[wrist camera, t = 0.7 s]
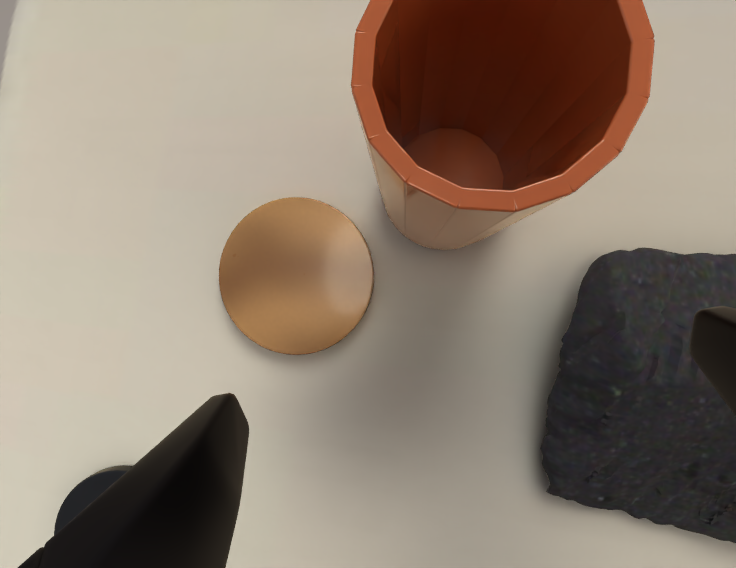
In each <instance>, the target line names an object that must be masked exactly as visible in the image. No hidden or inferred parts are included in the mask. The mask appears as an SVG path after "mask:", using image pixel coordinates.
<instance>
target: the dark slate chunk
mask: <svg viewBox="0 0 736 568" xmlns="http://www.w3.org/2000/svg"><path fill="white" fill-rule="evenodd" d="M718 306H726V307H730V308H734V309H736V254H729V255H713V254H709V253H695V254H688V255H683V254H677V253H672V252H667V251H663V250H658V249H652V248H638V249H635V250H633V251H623V250H618V251H614V252H611V253H608V254H605V255H602V256H600V257H599V258H598V259H597V260H595V261H594V262H593V263H592V264H591V266H590V267H589V269H588V271H587V273H586V275H585V276H584V278H583V280H582V282H581V286H580V289H579V293H578V299H577V303H576V307H575V309H574V312H573V316H572V319H571V323H570V325H569V327H568V330H567V331H566V333H565V335H564V336H563V338H562V342H563V345H562V348H561V350H560V363H559V366H558V367H559V368H560V369H561V370H560V371H559V373H558V375H557V378H556V380H555V383H554V385H553V388H552V390H551V393H550V395H549V398H548V409H547V418H546V427H547V430H548V433H547V435H546V436H545V437H544V439H543V442H542V445H541V451H542V455H543V460H542V465H543V468H544V470H545V472H546V474H547V476H548V478H549V482H550V486H549V488H548V489H547V491H546V492H548V493H550V494H552V495H555V496H559V497H562V498H564V499H566V500H574V501H576V502H578V503H580V504H582V505H585V506H589V507H594V508H600V509H607V510H623V511H625V512H627V513H628V514H629V515H631V516H633V517H635V518H638V519H642V518H646V519H649V520H650V521H652V522H653V523H655V524H661V525H673V526H675V527H677V528H680V529H684V530H688V531H692V532H696V533H700V534H704V535H707V536H710V537H713V538H716V539H719V540H723V541H731V542H734V543H736V416H735V415H734V414H733V412H732V411H731V410H730V408H729V407H728V406H727V404H726V403H725V402H724V400H723V399H722V397H721V396H720V395H719V393H718V392H717V391H716V389H715V388H714V387H713V385H712V384H711V383H710V381H709V380H708V379H707V377H706V376H705V375H704V373H703V372H702V370H701V369H700V368H699V366H698V365H697V364H696V362H695V361H694V359H693V358H692V356H691V353H690V348H689V344H690V338H691V332H692V326H693V320H694V316H695V314H696V313H697V311H699V310H701V309H707V308H712V307H718Z"/></svg>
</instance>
